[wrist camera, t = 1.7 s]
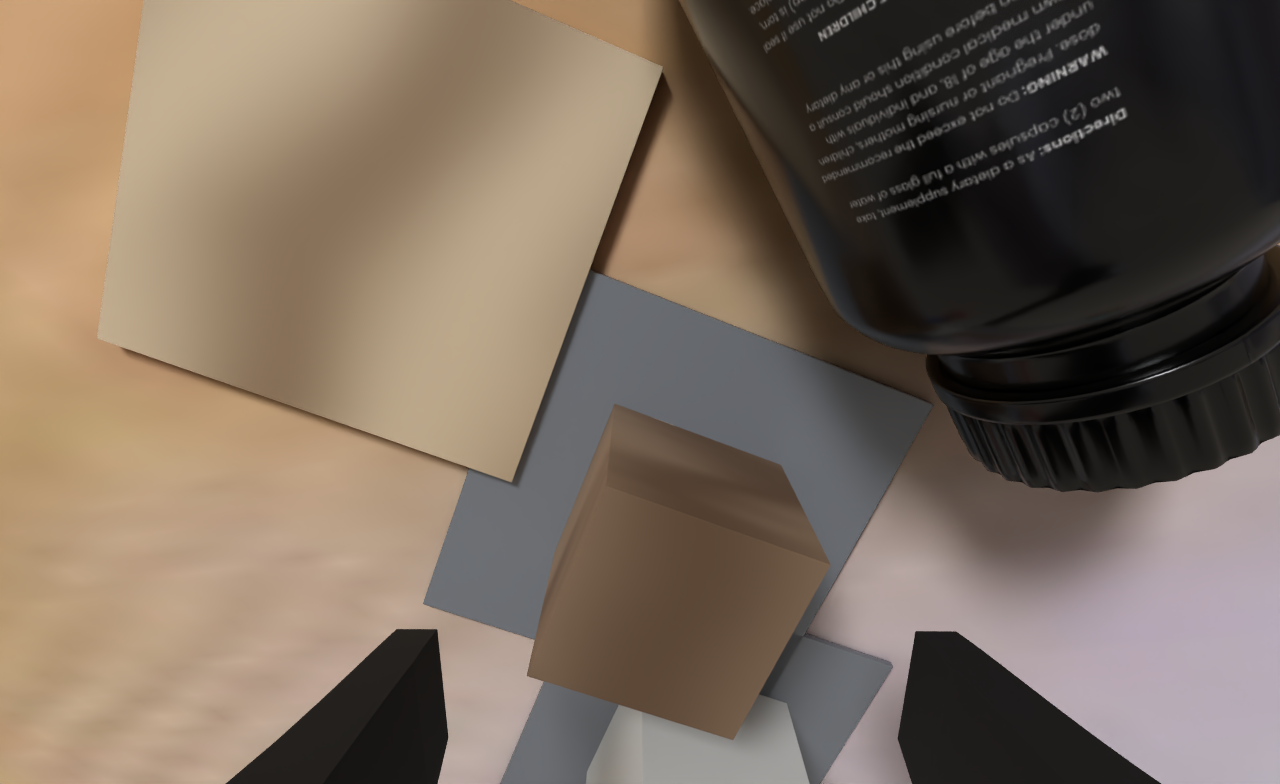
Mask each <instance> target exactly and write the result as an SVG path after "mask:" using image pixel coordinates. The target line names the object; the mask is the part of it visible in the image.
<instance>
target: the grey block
mask: <svg viewBox="0 0 1280 784" xmlns="http://www.w3.org/2000/svg"><path fill="white" fill-rule="evenodd" d="M586 784H810V783H809V780H808V776H807V773H806V769H805V766H804V762H803V759H802V755H801V752H800V748H799V745H798V741H797V737H796V734H795V730H794V727H793V723H792V720H791V716H790V713H789V709H788V706H787V703H784V702H781V701H778V700H775V699H772V698H769V697H766V696H763V695H760V694H759V695H758V696H757V698H756V700H755V702H754V704H753V705H752V707H751V709H750V711H749V713H748V714H747V716H746V718H745V720H744V722H743V723H742V725H741V727H740V729H739V731H738V732H737V734H736V736H735V738H734V740H730V739H727V738H724V737H721V736H718V735H714V734H711V733H708V732H705V731H702V730H698V729H695V728H692V727H689V726H686V725H682V724H679V723H676V722H673V721H670V720H666V719H663V718H660V717H657V716H654V715H650V714H647V713H644V712H641V711H638V710H634V709H631V708H628V707H625V706H622V705H618V707H617V710H616V712H615V714H614V716H613V718H612V720H611V722H610V724H609V726H608V728H607V731H606V733H605V735H604V737H603V739H602V741H601V743H600V745H599V747H598V749H597V752H596V754H595V756H594V758H593V760H592V762H591V764H590V766H589V768H588V770H587V777H586Z"/></svg>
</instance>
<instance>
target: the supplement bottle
mask: <svg viewBox="0 0 1280 784" xmlns="http://www.w3.org/2000/svg"><path fill="white" fill-rule="evenodd" d="M679 2H680V4H681V6H682V8H683V10H684V12H685V14H686V16H687V18H688V20H689V22H690V24H691V26H692V28H693V30H694V32H695V34H696V36H697V38H698V40H699V42H700V44H701V46H702V48H703V50H704V52H705V54H706V57H707V59H708V61H709V63H710V65H711V67H712V69H713V71H714V73H715V75H716V77H717V79H718V81H719V83H720V85H721V87H722V89H723V91H724V93H725V95H726V97H727V99H728V101H729V103H730V105H731V107H732V109H733V111H734V113H735V115H736V117H737V119H738V121H739V123H740V125H741V127H742V129H743V131H744V133H745V135H746V137H747V139H748V142H749V144H750V146H751V148H752V150H753V152H754V154H755V156H756V158H757V160H758V162H759V164H760V166H761V168H762V170H763V172H764V174H765V176H766V178H767V180H768V182H769V184H770V186H771V188H772V190H773V192H774V194H775V196H776V198H777V200H778V202H779V204H780V206H781V208H782V210H783V212H784V214H785V216H786V218H787V220H788V222H789V224H790V227H791V229H792V231H793V233H794V235H795V237H796V239H797V241H798V243H799V245H800V247H801V249H802V251H803V253H804V255H805V257H806V259H807V261H808V263H809V265H810V267H811V269H812V271H813V273H814V275H815V277H816V279H817V281H818V283H819V285H820V287H821V289H822V290H823V291H824V293H825V295H826V297H827V299H828V301H829V303H830V304H831V306H832V308H833V309H834V311H835V312H836V313H837V314H838V315H839V316H840V317H841V318H842V319H843V320H844V321H845V322H846V323H847V324H848V325H850V326H851V327H852V328H854V329H855V330H857V331H858V332H860V333H862V334H863V335H865V336H867V337H868V338H870V339H872V340H874V341H876V342H878V343H881V344H884V345H886V346H889V347H892V348H895V349H899V350H904V351H908V352H913V353H920V354H927V357H926V370H927V373H928V376H929V378H930V380H931V382H932V385H933V387H934V389H935V391H936V393H937V395H938V397H939V398H940V399H941V401H942V402H943V403H944V404H946V406H947V408H948V410H949V412H950V415H951V417H952V419H953V421H954V423H955V425H956V428H957V430H958V432H959V434H960V436H961V438H962V440H963V441H964V443H965V445H966V447H967V449H968V451H969V452H970V454H971V455H972V457H973V458H974V459H975V460H977V461H980V462H982V464H983V466H984V467H985V468H986V469H987V471H990V472H995V473H999V474H1001V475H1002V477H1003V478H1005V479H1006V480H1007V481H1017V482H1023V483H1024V484H1026V485H1027V486H1029V487H1031V488H1052V489H1054V490H1058V491H1061V492H1066V491H1074V490H1086V491H1092V492H1102V491H1107V490H1111V489H1115V488H1130V489H1137V488H1140V487H1143V486H1146V485H1149V484H1152V483H1155V482H1167V481H1177V480H1179V479H1182V478H1184V477H1186V476H1188V475H1190V474H1192V473H1195V472H1200V471H1206V470H1211V469H1216V468H1218V467H1219V466H1221V465H1223V464H1224V463H1225V462H1226V461H1228V460H1230V459H1233V458H1236V457H1240V456H1243V455H1247V454H1250V453H1252V452H1253V451H1255V450H1256V449H1257V448H1258V446H1259V445H1260V444H1261V443H1262V442H1264V441H1267V440H1269V439H1272V438H1274V437H1276V436H1279V435H1280V246H1279V245H1277V244H1279V243H1280V0H679Z"/></svg>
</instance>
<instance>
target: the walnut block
mask: <svg viewBox="0 0 1280 784" xmlns="http://www.w3.org/2000/svg"><path fill="white" fill-rule="evenodd" d="M830 565H831V564H830V562H829V560H828V558H827V556H826V554H825V552H824V550H823V548H822V546H821V544H820V542H819V540H818V538H817V536H816V534H815V532H814V530H813V528H812V526H811V524H810V522H809V520H808V518H807V516H806V514H805V512H804V510H803V508H802V506H801V504H800V502H799V500H798V498H797V496H796V494H795V492H794V490H793V488H792V486H791V484H790V482H789V480H788V478H787V476H786V474H785V472H784V470H783V468H782V466H781V465H780V464H777V463H775V462H772V461H769V460H766V459H764V458H761V457H758V456H756V455H753V454H750V453H747V452H745V451H742V450H739V449H737V448H734V447H731V446H728V445H726V444H723V443H720V442H718V441H715V440H712V439H710V438H707V437H704V436H701V435H699V434H696V433H693V432H691V431H688V430H685V429H682V428H680V427H677V426H674V425H672V424H669V423H666V422H663V421H661V420H658V419H655V418H653V417H650V416H647V415H644V414H642V413H639V412H636V411H634V410H631V409H628V408H625V407H623V406H620V405H617V404H614V406H613V409H612V411H611V414H610V416H609V419H608V421H607V424H606V426H605V429H604V431H603V434H602V436H601V439H600V441H599V444H598V446H597V448H596V451H595V453H594V456H593V458H592V461H591V463H590V466H589V468H588V471H587V473H586V476H585V478H584V481H583V483H582V486H581V488H580V491H579V493H578V496H577V498H576V501H575V503H574V506H573V508H572V511H571V513H570V516H569V518H568V520H567V523H566V525H565V528H564V530H563V533H562V535H561V538H560V540H559V543H558V545H557V548H556V550H555V553H554V557H553V561H552V566H551V570H550V575H549V579H548V584H547V588H546V593H545V597H544V602H543V606H542V610H541V615H540V619H539V624H538V628H537V633H536V637H535V642H534V646H533V651H532V655H531V659H530V664H529V668H528V673H527V676H529V677H532V678H535V679H538V680H541V681H545V682H548V683H551V684H554V685H558V686H561V687H564V688H567V689H570V690H574V691H577V692H580V693H583V694H586V695H590V696H593V697H596V698H599V699H602V700H606V701H609V702H612V703H615V704H618V705H622V706H625V707H628V708H631V709H634V710H638V711H641V712H644V713H647V714H650V715H654V716H657V717H660V718H663V719H666V720H670V721H673V722H676V723H679V724H682V725H686V726H689V727H692V728H695V729H698V730H702V731H705V732H708V733H711V734H714V735H718V736H721V737H724V738H727V739H730V740H734V738H735V736H736V734H737V732H738V731H739V729H740V727H741V725H742V723H743V722H744V720H745V718H746V716H747V714H748V713H749V711H750V709H751V707H752V705H753V704H754V702H755V700H756V698H757V696H758V695H759V693H760V691H761V689H762V687H763V686H764V684H765V682H766V680H767V678H768V677H769V675H770V673H771V671H772V669H773V668H774V666H775V664H776V662H777V660H778V659H779V657H780V655H781V653H782V652H783V650H784V648H785V646H786V644H787V643H788V641H789V639H790V637H791V635H792V634H793V632H794V630H795V628H796V626H797V625H798V623H799V621H800V619H801V617H802V616H803V614H804V612H805V610H806V608H807V607H808V605H809V603H810V601H811V599H812V598H813V596H814V594H815V592H816V590H817V589H818V587H819V585H820V583H821V581H822V580H823V578H824V576H825V574H826V572H827V571H828V569H829V567H830Z"/></svg>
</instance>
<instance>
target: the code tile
mask: <svg viewBox="0 0 1280 784" xmlns="http://www.w3.org/2000/svg"><path fill="white" fill-rule="evenodd" d="M614 404H617V405H620V406H623V407H625V408H628V409H631V410H634V411H636V412H639V413H642V414H644V415H647V416H650V417H653V418H655V419H658V420H661V421H663V422H666V423H669V424H672V425H674V426H677V427H680V428H682V429H685V430H688V431H691V432H693V433H696V434H699V435H701V436H704V437H707V438H710V439H712V440H715V441H718V442H720V443H723V444H726V445H728V446H731V447H734V448H737V449H739V450H742V451H745V452H747V453H750V454H753V455H756V456H758V457H761V458H764V459H766V460H769V461H772V462H775V463H777V464H780V465H781V466H782V468H783V470H784V472H785V474H786V476H787V478H788V480H789V482H790V484H791V486H792V488H793V490H794V492H795V494H796V496H797V498H798V500H799V502H800V504H801V506H802V508H803V510H804V512H805V514H806V516H807V518H808V520H809V522H810V524H811V526H812V528H813V530H814V532H815V534H816V536H817V538H818V540H819V542H820V544H821V546H822V548H823V550H824V552H825V554H826V556H827V558H828V560H829V562H830V564H831V565H830V567H829V569H828V571H827V572H826V574H825V576H824V578H823V580H822V581H821V583H820V585H819V587H818V589H817V590H816V592H815V594H814V596H813V598H812V599H811V601H810V603H809V605H808V607H807V608H806V610H805V612H804V614H803V616H802V617H801V619H800V621H799V623H798V625H797V626H796V628H795V630H794V632H793V633H794V634H795V635H796V634H797V635H796V636H794V637H797V636H798V635H800V636H798V637H802V636H804V634H805V633H806V631H807V629H808V627H809V626H810V624H811V622H812V620H813V618H814V617H815V615H816V613H817V611H818V610H819V608H820V606H821V604H822V602H823V601H824V599H825V597H826V595H827V594H828V592H829V590H830V588H831V586H832V585H833V583H834V581H835V579H836V578H837V576H838V574H839V572H840V570H841V569H842V567H843V565H844V563H845V562H846V560H847V558H848V556H849V555H850V553H851V551H852V549H853V547H854V546H855V544H856V542H857V540H858V539H859V537H860V535H861V533H862V531H863V530H864V528H865V526H866V524H867V523H868V521H869V519H870V517H871V515H872V514H873V512H874V510H875V508H876V507H877V505H878V503H879V501H880V499H881V498H882V496H883V494H884V492H885V491H886V489H887V487H888V485H889V484H890V482H891V480H892V478H893V476H894V475H895V473H896V471H897V469H898V468H899V466H900V464H901V462H902V460H903V459H904V457H905V455H906V453H907V452H908V450H909V448H910V446H911V444H912V443H913V441H914V439H915V437H916V436H917V434H918V432H919V430H920V428H921V427H922V425H923V423H924V421H925V420H926V418H927V416H928V414H929V413H930V411H931V409H932V407H933V404H931V403H929V402H927V401H924V400H922V399H919V398H917V397H914V396H912V395H909V394H906V393H904V392H901V391H899V390H896V389H894V388H891V387H889V386H886V385H884V384H881V383H878V382H876V381H873V380H871V379H868V378H866V377H863V376H861V375H858V374H856V373H853V372H850V371H848V370H845V369H843V368H840V367H838V366H835V365H833V364H830V363H827V362H825V361H822V360H820V359H817V358H815V357H812V356H810V355H807V354H805V353H802V352H799V351H797V350H794V349H792V348H789V347H787V346H784V345H782V344H779V343H777V342H774V341H771V340H769V339H766V338H764V337H761V336H759V335H756V334H754V333H751V332H748V331H746V330H743V329H741V328H738V327H736V326H733V325H731V324H728V323H726V322H723V321H720V320H718V319H715V318H713V317H710V316H708V315H705V314H703V313H700V312H697V311H695V310H692V309H690V308H687V307H685V306H682V305H680V304H677V303H675V302H672V301H669V300H667V299H664V298H662V297H659V296H657V295H654V294H652V293H649V292H647V291H644V290H641V289H639V288H636V287H634V286H631V285H629V284H626V283H624V282H621V281H618V280H616V279H613V278H611V277H608V276H606V275H603V274H601V273H598V272H596V271H593V270H589V273H588V275H587V278H586V281H585V284H584V286H583V289H582V292H581V295H580V297H579V300H578V303H577V305H576V308H575V311H574V314H573V316H572V319H571V322H570V325H569V327H568V330H567V333H566V336H565V338H564V341H563V344H562V346H561V349H560V352H559V355H558V357H557V360H556V363H555V366H554V368H553V371H552V374H551V377H550V379H549V382H548V385H547V387H546V390H545V393H544V396H543V398H542V401H541V404H540V407H539V409H538V412H537V415H536V418H535V420H534V423H533V426H532V428H531V431H530V434H529V437H528V439H527V442H526V445H525V448H524V450H523V453H522V456H521V459H520V461H519V464H518V467H517V470H516V472H515V475H514V478H513V480H512V482H509V481H506V480H503V479H500V478H498V477H495V476H492V475H489V474H486V473H483V472H480V471H477V470H474V469H472V468H469V470H468V473H467V476H466V479H465V482H464V485H463V488H462V491H461V494H460V497H459V500H458V503H457V506H456V509H455V511H454V514H453V517H452V520H451V523H450V526H449V529H448V532H447V535H446V538H445V541H444V544H443V547H442V550H441V553H440V555H439V558H438V561H437V564H436V567H435V570H434V573H433V576H432V579H431V582H430V585H429V588H428V591H427V594H426V597H425V599H424V602H423V604H425V605H428V606H431V607H434V608H437V609H441V610H444V611H447V612H450V613H453V614H456V615H459V616H462V617H466V618H469V619H472V620H475V621H478V622H481V623H484V624H488V625H491V626H494V627H497V628H500V629H503V630H506V631H509V632H513V633H516V634H519V635H522V636H525V637H528V638H531V639H535V637H536V633H537V628H538V624H539V619H540V615H541V610H542V606H543V602H544V597H545V593H546V588H547V584H548V579H549V575H550V570H551V566H552V561H553V557H554V553H555V550H556V548H557V545H558V543H559V540H560V538H561V535H562V533H563V530H564V528H565V525H566V523H567V520H568V518H569V516H570V513H571V511H572V508H573V506H574V503H575V501H576V498H577V496H578V493H579V491H580V488H581V486H582V483H583V481H584V478H585V476H586V473H587V471H588V468H589V466H590V463H591V461H592V458H593V456H594V453H595V451H596V448H597V446H598V444H599V441H600V439H601V436H602V434H603V431H604V429H605V426H606V424H607V421H608V419H609V416H610V414H611V411H612V409H613V406H614ZM794 634H792V635H794ZM792 637H793V636H792ZM794 637H793V639H795V640H796V638H794ZM797 639H798V642H799V641H801V640H799V638H797ZM800 639H801V638H800ZM789 641H790V639H789ZM791 641H792V640H791ZM793 642H794V641H793ZM793 642H792V643H793ZM788 643H790V642H788ZM796 644H797V642H796ZM788 645H789V644H788ZM794 645H795V644H793V645H789V646H792V648H794V649H792V650H794V651H795V647H793V646H794ZM797 645H799V644H797ZM795 646H796V645H795ZM797 647H798V646H797ZM785 648H787V646H786V647H785ZM788 648H791V647H788ZM784 650H785V649H784ZM787 651H788V649H787ZM789 651H790V650H789ZM783 652H785V651H783ZM792 652H793V651H792ZM792 652H791V653H792ZM791 653H790V655H791ZM782 654H784V656H783V655H782V656H781V655H780V656H781V657H783V658H784V657H785V653H782ZM787 654H789V653H787ZM793 654H794V653H793ZM792 656H793V655H792ZM792 656H791V657H792ZM779 659H780V658H779ZM779 659H778V660H777V661H779ZM785 659H791V658H785ZM783 661H785V660H784V659H783V660H782V663H784V662H783ZM778 663H780V662H778ZM785 663H786V661H785ZM787 663H788V662H787ZM775 665H776V664H775ZM777 665H778V664H777ZM782 665H785V664H782ZM786 665H788V664H786ZM774 667H775V666H774ZM782 667H783V666H782ZM780 668H781V667H780ZM775 669H776V668H775ZM777 669H778V668H777ZM782 669H783V668H782ZM780 670H781V669H780ZM780 670H779V671H780ZM784 670H785V669H784ZM781 671H782V670H781ZM775 672H778V671H775ZM771 673H773V672H771ZM781 673H782V672H781ZM781 673H775V675H777V674H781ZM781 675H782V674H781ZM769 676H770V675H769ZM772 676H774V673H773V675H772ZM780 677H781V676H779V678H780ZM768 678H769V677H768ZM771 678H772V677H771ZM773 678H774V677H773ZM775 678H776V677H775ZM777 678H778V677H777ZM773 680H774V679H773ZM775 680H776V679H775ZM766 681H768V679H767V680H766ZM769 682H770V681H769ZM777 682H778V681H777ZM765 684H766V683H765ZM767 684H768V683H767ZM767 684H766V685H767ZM770 684H771V683H770ZM773 684H774V683H773ZM771 685H772V684H771ZM774 686H775V684H774ZM763 687H764V686H763ZM765 687H766V686H765ZM769 687H770V686H769ZM771 687H772V686H771ZM766 689H767V688H766ZM766 689H765V691H766ZM773 689H774V688H773ZM763 690H764V689H762V691H763ZM767 691H770V688H769V690H767ZM771 692H772V690H771ZM761 693H762V692H761ZM763 693H764V692H763ZM768 693H770V692H768ZM770 694H771V693H770ZM760 695H761V694H760ZM763 695H764V694H763ZM767 695H768V694H767ZM766 697H767V696H766ZM769 697H770V696H769Z"/></svg>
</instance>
